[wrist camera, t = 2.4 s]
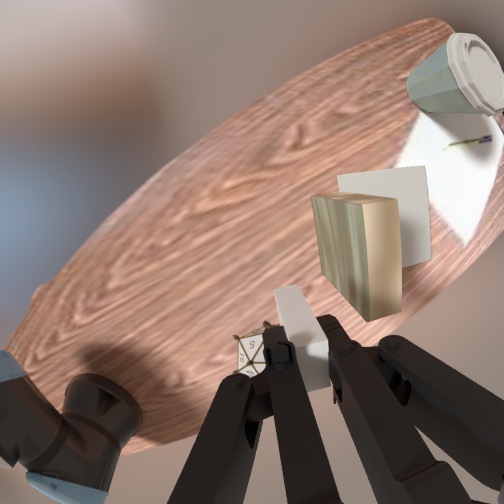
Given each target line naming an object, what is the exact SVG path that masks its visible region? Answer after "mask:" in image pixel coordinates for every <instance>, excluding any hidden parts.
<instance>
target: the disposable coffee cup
mask: <svg viewBox="0 0 504 504" xmlns="http://www.w3.org/2000/svg"><path fill="white" fill-rule="evenodd" d="M406 87H407V92H408V94H409V97H410V99H411V100H412V102H413V103H414V104H415V105H416V106H417V107H418V108H420V109H423V110H425V111H428V112H450V113H475V114H485V115H487V116H488V117H489V116H492V115H495V114H498V113H501V112H503V110H504V74H503V72H502V69H501V67H500V64H499V62H498V61H497V58H496V57H495V55H494V54H493V52H492V51H491V50H490V48H489V47H488V45H487V44H486V43H485V42H483V41H482V40H481V39H480V38H479V37H478V36H476V35H474V34H467V33H466V34H465V33H455V34H451V36H450V38H449V40H448V41H447V42H446V43H445V44H443V45H442V46H441V47H440V48H439V49H437V50H436V51H435V52H434V53H433V54H432V55H430V56H429V57H428V58H427V59H426V60H425V61H423V62H422V63H421V64H420V65H419V66H418V67H416V68H415V69H414V70H413V71H412V72H411V73H410V75H409V76H408V78H407V80H406Z"/></svg>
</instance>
